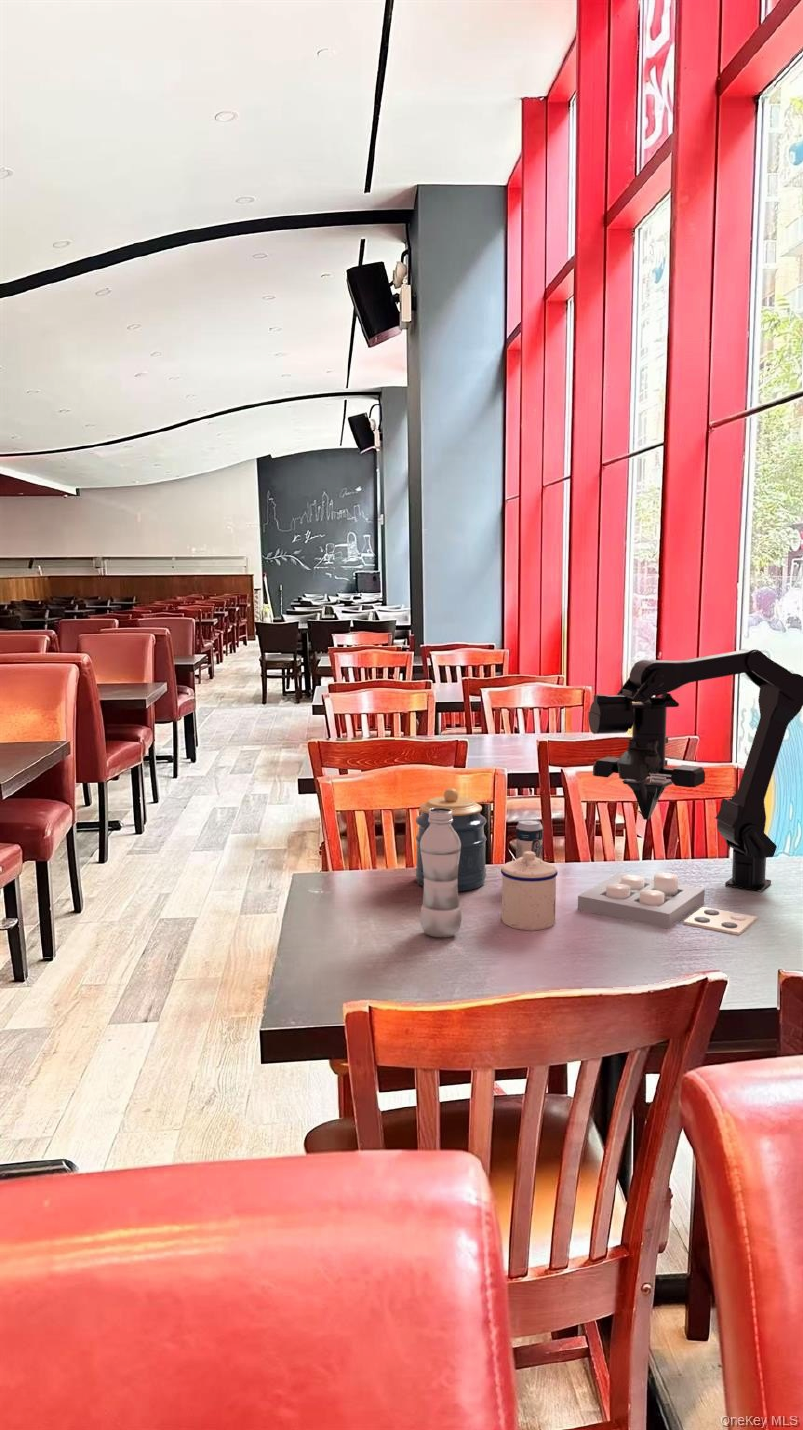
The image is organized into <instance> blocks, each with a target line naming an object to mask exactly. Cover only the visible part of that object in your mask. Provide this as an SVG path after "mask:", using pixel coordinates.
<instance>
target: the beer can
mask: <svg viewBox="0 0 803 1430" xmlns="http://www.w3.org/2000/svg"><path fill="white" fill-rule="evenodd" d="M515 827H516V832H515V833H516V841H515V843H516V846H515V847H516V849H515V851H516V852H515V853H516V854H515V855H516V856H515V857H516V858H515V860H516V859H518V858H520V857H523V853H524V852H526V851H532V852H534V853H535V854H536V858H539V859H541V860H543V832H544V831H543V829H544V827H543V825H542V823H541V821H540V820H536V819H522V820H519V821H518V823H517V825H516V826H515Z"/></svg>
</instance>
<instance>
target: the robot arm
mask: <svg viewBox="0 0 803 1430" xmlns="http://www.w3.org/2000/svg"><path fill="white" fill-rule="evenodd" d="M739 674H740V675H741V674H744V675H746V676H747V678H748V679H749V680H750V681H751V682H752V683H753V684H754V685H755V686H757V687H758V688H759V692H758V701H757V702H758V708H759V709H758V710H759V716H760V717H759V721H758V725H757V726H756V731H755V732H754V733H755V734H754V737H753V740H752V743H751V746H750V749H749V752H748V756H747V759H746V762H745V765H744V769H743V773H742V774H741V779H740V781H739V785H738V789H737V790H736V793H735V794H734V795H733V796H732V797H731V798H730V799H727V798H722V799H721V801H720V808H719V810H718V811H719V812H718V813H717V815H716V816H715V820H717V824H716V825H717V827H716V828H717V831H718V832H719V834H720V836H721V837H722V838H724V841H725V843H726V844H725V845H726V846H727V847H729V848H732V867H731V868H732V869H731V871H732V872H731V873H732V874H731V878H729V879H728V880H727V881H725V884H724V885H725V886H729V887H735V888H740V889H745V890H752V891H757V892H763V891H764V890H765V889H766V888H767V887H769V885H770V884H772V880H771V879H766V873H767V872H766V869H767V858H773V857H775V854H776V851H777V848H778V845H776V843H774V841H773V840H771V838H770V837H769V836H768V835H767V834H766V833H765V832H766V831H765V830H766V823H767V814H766V808H765V807H766V806H765V799H766V795H767V792H768V789H769V786H770V782H771V779H772V776H773V774H774V773H773V772H774V770H775V767H776V763H777V760H778V758H779V755H780V750H781V747H782V745H783V742H784V740H785V735H786V732H787V730H788V726H789V724H790V723H792V721H793V720H794V719H795V718H796V716H797V715H798V714H799V713H800V712H801V711H802V708H803V675H801V674H799V673H794V672H791V671H790V670H788V669H787V668H786V667H784V666H783V665H781V664H779V663H777V662H776V661H773V659H770V657H768V656H767V655H765V654H764V653H763V652H762V651H761V650H759V649H755V648H754V649H753V648H746V647H745V648H744V647H743V648H741V649H739V650H735V651H729V652H723V653H719V654H718V653H717V654H712V655H707V656H706V655H705V656H699V657H696V658H690V659H689V658H688V659H683V660H668V659H665V660H664V659H641V660H639V661H637V662H636V663H634V665H633V666H632V667H631V670H630V672H629V677H628V679H627V680H626V681H625V682H624V684H623V685H622V686H621V688H620V690H619V691H618V692H617V694H615V695H613V694H612V695H611V694H609V695H605V694H593V701H592V702H591V705H590V708H589V711H588V714H587V715H588V716H587V717H588V725H589V729H590V731H591V733H592V734H593V735H601V734H608V735H609V734H626V733H627V732H628V731H629V729H630V730H632V733H631V734H632V736H631V738H628V741H629V742H628V747H627V750H626V751H624V752H623V753H622V754H621V756H620V757H614V756H613V757H612V756H605V757H603V758H599V759H596V761H594V763H593V767H592V776H594V777H599V778H610V777H611V776H612V775H613V774H618V778H619V779H621V780H622V783H623V784H624V785H627V786H628V787H629V788H630V789H631V790H632V792H633V794H634V796H635V798H636V801H637V804H638V808H639V809H640V813H641V816H642V819H643V820H645V821H648V820H650V819H651V817H652V816H653V812H654V810H655V808H656V806H657V804H658V801H659V799H660V797H661V795H662V794H663V793H664V791H665V789H666V787H668V786H671V785H674V786H675V787H683V788H696V787H698V786H700V785H703V784H704V783H706V772H705V770H704V768H703V767H702V766H697V765H695V766H694V765H686V764H681V765H679V766H676V767H674V768H669V767H667V766H668V759H666V744H668V743H669V737H668V736H666V735H667V713H668V712H667V709H668V708H678V707H679V706H680V703H679V702H677V701H676V699H675V698H674V697H672V695H671V693H670V692H673V691H675V690H678V689H680V688H681V687H683V686H685V685H688V684H691V683H694V682H700V681H705V680H706V681H707V680H712V679H717V678H722V677H723V678H724V677H730V676H733V675H734V676H735V675H739Z"/></svg>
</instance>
